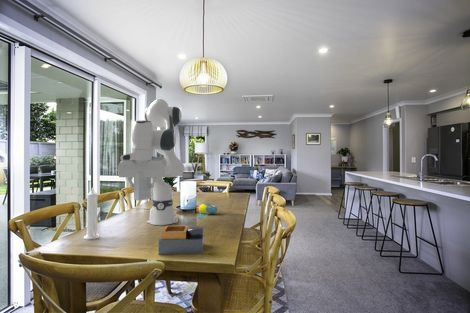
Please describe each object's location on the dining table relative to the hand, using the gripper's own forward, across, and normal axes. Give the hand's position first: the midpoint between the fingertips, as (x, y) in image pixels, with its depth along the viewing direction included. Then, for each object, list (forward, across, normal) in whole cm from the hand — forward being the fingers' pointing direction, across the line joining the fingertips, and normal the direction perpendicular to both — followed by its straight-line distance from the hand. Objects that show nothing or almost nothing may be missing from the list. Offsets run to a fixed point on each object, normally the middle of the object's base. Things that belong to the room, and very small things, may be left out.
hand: (142, 187), depth 113 cm
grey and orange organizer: (+27, -18, +2) cm, 32 cm away
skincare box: (+5, 0, 0) cm, 5 cm away
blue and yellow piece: (+28, -26, -67) cm, 78 cm away
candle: (+27, +29, -17) cm, 43 cm away
